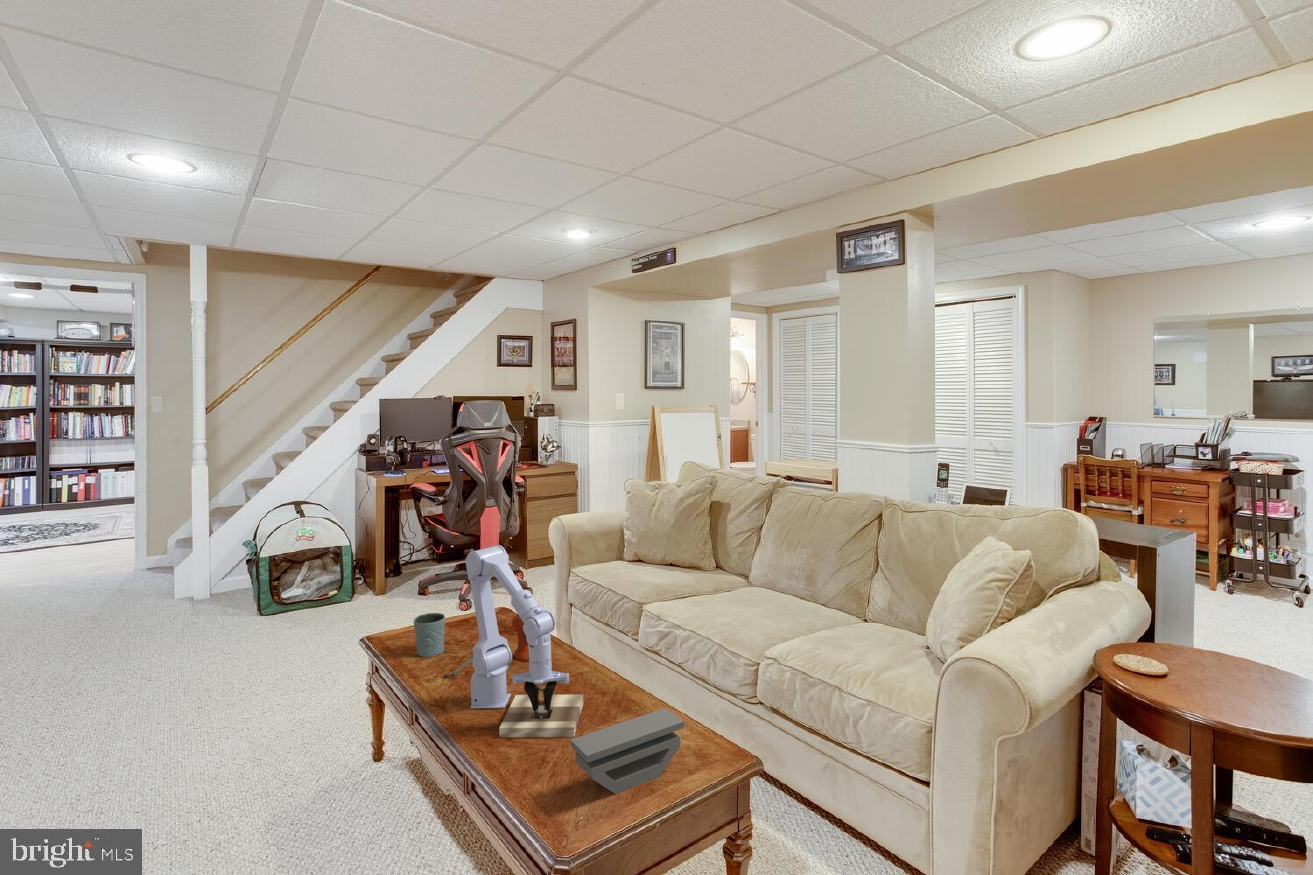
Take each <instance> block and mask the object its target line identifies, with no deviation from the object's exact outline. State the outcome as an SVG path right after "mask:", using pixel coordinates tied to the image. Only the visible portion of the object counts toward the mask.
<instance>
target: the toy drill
mask: <svg viewBox="0 0 1313 875" xmlns="http://www.w3.org/2000/svg"><path fill="white" fill-rule="evenodd" d="M511 623H512V624H511V625H512V628H513V630H514V631H515V632H516V634H517V648H516V649H515V650H514V654H513V655H514V658H515V659H516V660H518V661H521V662H529V644H528V643H527V640H526V635H525V633H524V630H523V625H524V622H523V621H522V619H521V618H520V616H519V615H518V613H517V614H516V615H515V616H514V617H513V619H512V621H511Z"/></svg>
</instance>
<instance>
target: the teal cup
mask: <svg viewBox="0 0 1313 875" xmlns="http://www.w3.org/2000/svg"><path fill="white" fill-rule="evenodd" d="M445 623H446V615H445V614H443V613H440V612H430V613H423V614H419V615H418V616H416V617H415V618H414V619H413V627H414V632H415V633H414V635H415V642H416V654H417V656H418V655H419V657H420V656H423V657H422V658H432V656H433V657H436V655H437V656H439V655H438V654H440V655H442V654H443V653H444V651H445V626H446V624H445Z"/></svg>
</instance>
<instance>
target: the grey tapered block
mask: <svg viewBox="0 0 1313 875" xmlns="http://www.w3.org/2000/svg"><path fill="white" fill-rule="evenodd" d="M684 728H685V722H684V720H683V719H681V718H680V717H678V716H677V715H676V714H675V713H673V712H671V710H669V709H667V708H660V709H659V710H656V711H651V712H649V713H646V714H642V715H640V716H637V717H634V718H631V719H628V720H625V721H622V722H619V723H616V724H613V725H610V726H607V727H604V728H601V729H599V730H595V731H592V732H590V733H586V734H584V735H581V736H578V737H573V738H571V739H570V748H572V749H573V750H574V752H575V763H576V764H577V765H578V766H579V767H580V768H581V769H582V770H583V771H584V772H585V773H586V775H588V776H589V778H590V779H591V780H593V781H595V782H596V783H597V784H599V785H601V786H602V787H604V788H605V789H607V790H609V791H610V792H612V793H613V794H615V795H618V794H621V793H623V792H626V791H628V790H630V789H633V788H635V787H637V786H641V785H642V784H645V783H647V782H650V781H652V780H655V779H657V778H660V777H661V776H662V775H663V773H664V771H665V770H666V769H667V767H668V765H669V764H670V762H671V761H672V760H673V758H674V756H675V754H676V753H677V751H678V750H679V749H680V747H681V736H680V735H679V734H677V733H676V731H678V730H679V731H680V730H682V729H684Z"/></svg>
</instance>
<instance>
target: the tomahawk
mask: <svg viewBox="0 0 1313 875" xmlns="http://www.w3.org/2000/svg"><path fill="white" fill-rule="evenodd" d="M472 661H473V655H471V656H470V657H469V658H467V659H466V660H465V661H464V662H463V663H462V664H461V665H460V666H458V667H457V668H456V669H455V670H453V671H452V673H451V674H444V675H443V678H444V677H445V678H444V679H449V678H451V679H450V680H457V679H458V678H457V676H458V675H459V672H461V671H462V670H463V669H464V668H465V667H466V666H468V665H469V664H470V663H471V662H472ZM448 676H449V677H448Z"/></svg>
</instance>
